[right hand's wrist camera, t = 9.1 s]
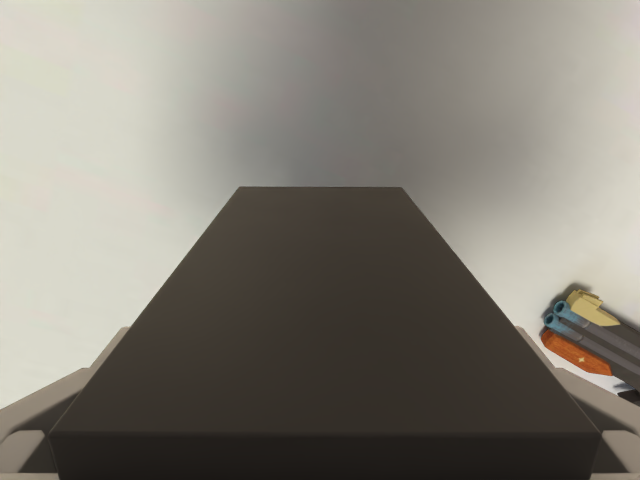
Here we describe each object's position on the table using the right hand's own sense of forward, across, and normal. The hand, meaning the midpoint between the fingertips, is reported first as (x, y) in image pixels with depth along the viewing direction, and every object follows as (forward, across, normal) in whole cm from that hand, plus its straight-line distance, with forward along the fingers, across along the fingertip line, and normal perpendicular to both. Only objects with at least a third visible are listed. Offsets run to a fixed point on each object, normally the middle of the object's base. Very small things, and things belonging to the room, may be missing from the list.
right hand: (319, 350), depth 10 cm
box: (+7, 0, +9) cm, 12 cm away
